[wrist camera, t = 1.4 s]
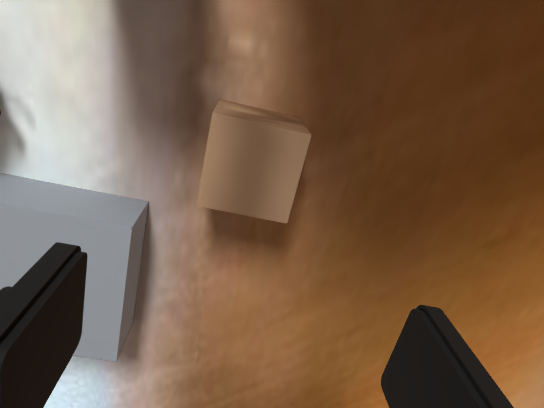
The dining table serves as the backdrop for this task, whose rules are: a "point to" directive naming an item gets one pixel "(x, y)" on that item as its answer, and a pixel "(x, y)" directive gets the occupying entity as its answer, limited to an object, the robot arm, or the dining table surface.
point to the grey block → (92, 239)
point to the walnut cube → (252, 161)
